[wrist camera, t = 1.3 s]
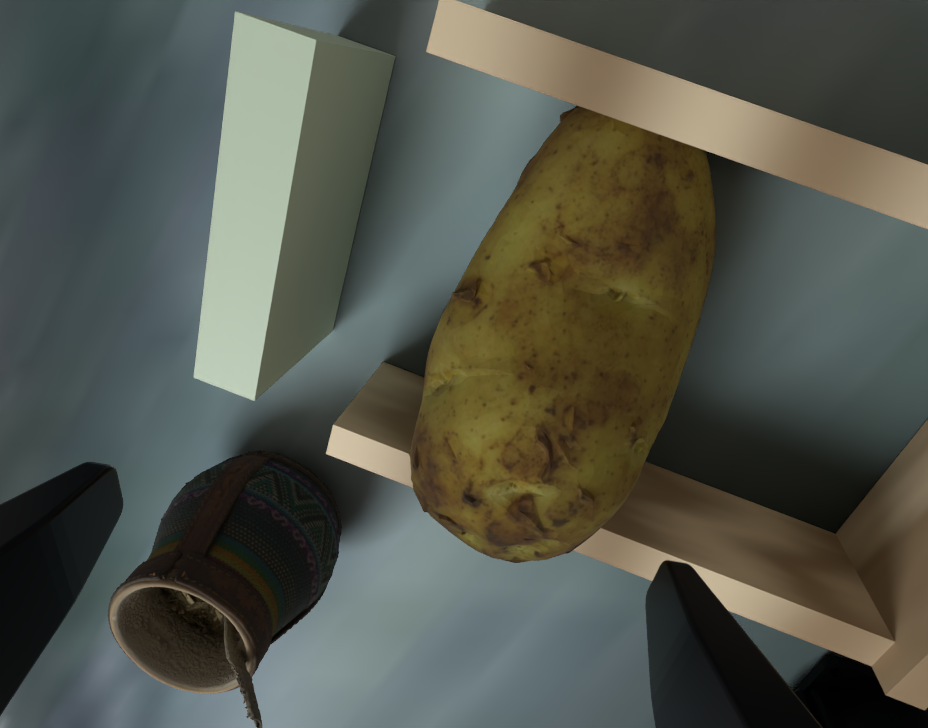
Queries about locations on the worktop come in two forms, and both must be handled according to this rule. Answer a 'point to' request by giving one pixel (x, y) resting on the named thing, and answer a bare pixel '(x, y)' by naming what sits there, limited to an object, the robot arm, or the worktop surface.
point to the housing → (667, 493)
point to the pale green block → (285, 197)
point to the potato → (565, 340)
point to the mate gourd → (228, 574)
